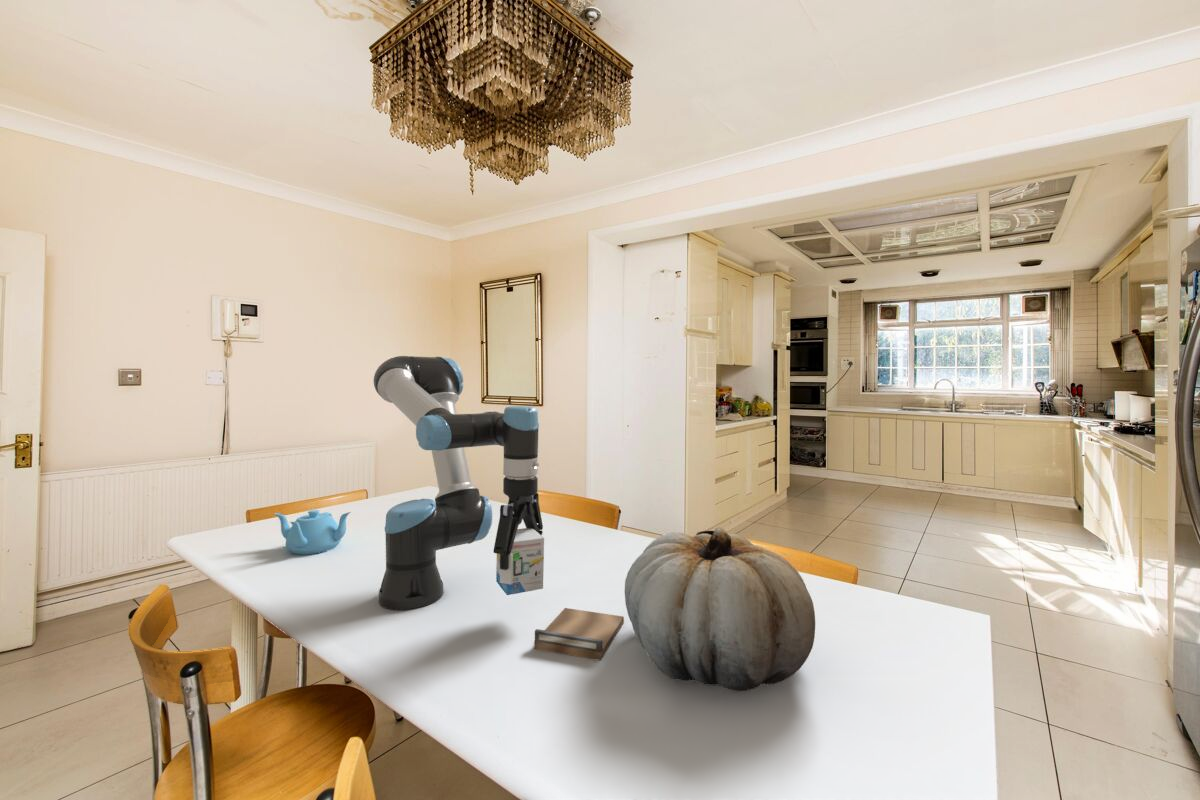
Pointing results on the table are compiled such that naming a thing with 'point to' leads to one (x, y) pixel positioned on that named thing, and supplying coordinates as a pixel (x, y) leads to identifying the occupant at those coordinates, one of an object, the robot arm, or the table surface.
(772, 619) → the pumpkin
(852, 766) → the table surface
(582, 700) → the table surface
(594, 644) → the brown flat block
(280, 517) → the teapot
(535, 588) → the ink box
